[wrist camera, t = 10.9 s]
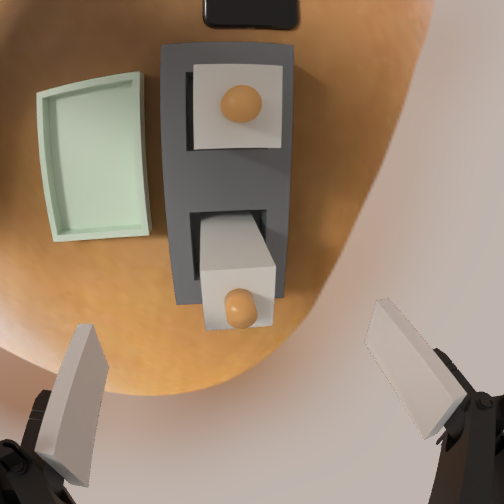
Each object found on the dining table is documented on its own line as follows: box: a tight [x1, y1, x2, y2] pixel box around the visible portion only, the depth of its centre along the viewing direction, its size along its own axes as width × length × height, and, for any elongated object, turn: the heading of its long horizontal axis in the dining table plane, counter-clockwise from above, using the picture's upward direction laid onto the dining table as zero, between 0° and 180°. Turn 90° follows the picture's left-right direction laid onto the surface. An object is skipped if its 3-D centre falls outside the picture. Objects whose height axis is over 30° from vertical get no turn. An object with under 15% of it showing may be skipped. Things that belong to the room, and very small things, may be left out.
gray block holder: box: [160, 42, 294, 305], centre depth 19 cm, size 9×20×12 cm, turn 179°
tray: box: [37, 71, 152, 242], centre depth 21 cm, size 9×13×2 cm
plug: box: [200, 210, 276, 331], centre depth 21 cm, size 4×4×12 cm
